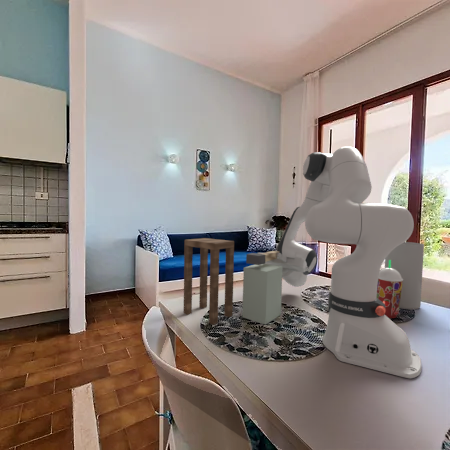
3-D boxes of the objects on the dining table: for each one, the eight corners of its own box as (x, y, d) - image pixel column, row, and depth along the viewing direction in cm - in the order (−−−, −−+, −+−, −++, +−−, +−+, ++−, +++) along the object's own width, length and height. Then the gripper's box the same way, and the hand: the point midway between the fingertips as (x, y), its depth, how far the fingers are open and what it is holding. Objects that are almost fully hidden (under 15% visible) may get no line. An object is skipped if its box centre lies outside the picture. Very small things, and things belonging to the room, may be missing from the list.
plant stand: (232, 315, 90) (234, 241, 89) (213, 324, 82) (215, 243, 81) (203, 305, 99) (204, 237, 97) (183, 313, 91) (184, 239, 90)
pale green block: (280, 314, 92) (282, 266, 91) (265, 324, 83) (267, 271, 82) (258, 308, 97) (260, 263, 96) (242, 317, 89) (243, 267, 88)
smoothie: (406, 320, 89) (409, 262, 88) (382, 319, 89) (385, 262, 88) (391, 311, 97) (394, 258, 96) (369, 310, 97) (371, 257, 97)
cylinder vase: (376, 301, 108) (379, 241, 107) (395, 298, 113) (398, 241, 112) (408, 312, 96) (411, 245, 95) (427, 307, 102) (431, 244, 100)
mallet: (270, 256, 100) (270, 249, 100) (282, 258, 97) (282, 250, 97) (246, 263, 87) (246, 254, 87) (259, 265, 84) (259, 255, 84)
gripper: (309, 278, 99) (297, 265, 89) (262, 270, 112) (247, 258, 102) (312, 263, 101) (301, 249, 91) (266, 257, 114) (252, 243, 104)
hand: (272, 254), depth 97 cm, fingers closed on mallet, 2 cm apart
